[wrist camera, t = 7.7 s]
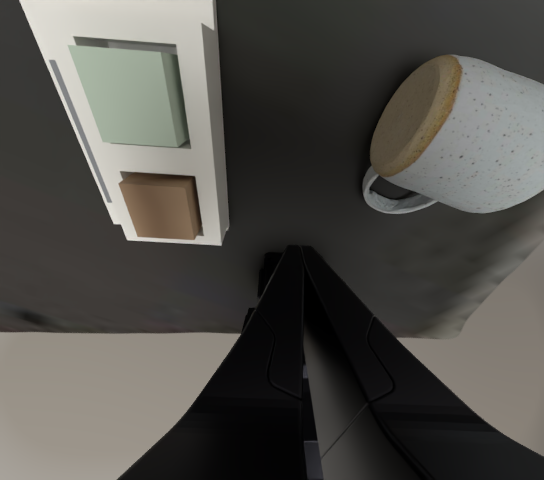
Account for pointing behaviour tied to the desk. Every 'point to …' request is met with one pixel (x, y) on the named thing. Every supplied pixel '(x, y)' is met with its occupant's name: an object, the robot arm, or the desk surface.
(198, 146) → the key panel
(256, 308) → the robot arm
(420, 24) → the desk surface
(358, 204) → the desk surface
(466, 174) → the ceramic mug
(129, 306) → the desk surface
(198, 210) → the walnut key
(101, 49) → the sage key
